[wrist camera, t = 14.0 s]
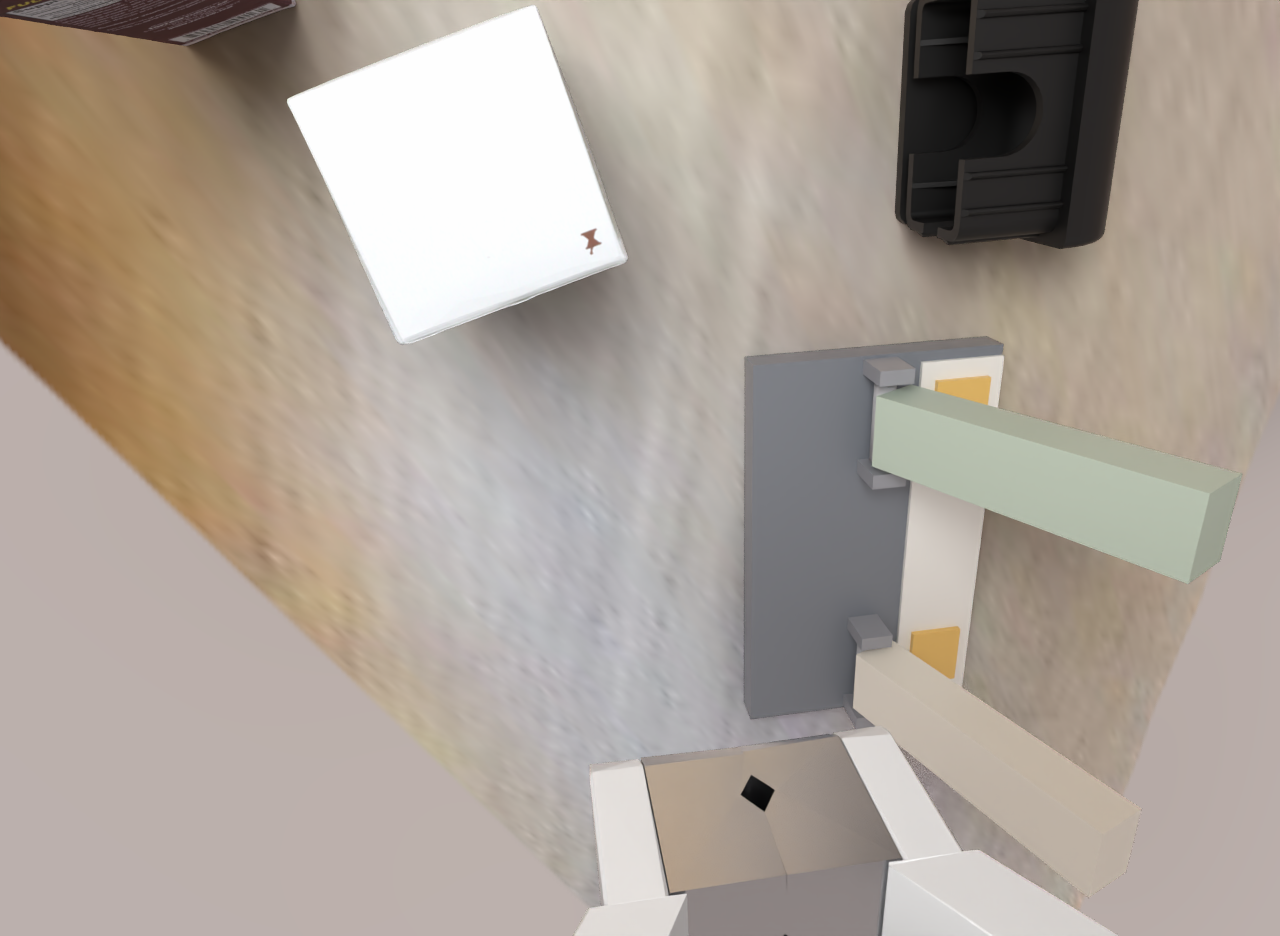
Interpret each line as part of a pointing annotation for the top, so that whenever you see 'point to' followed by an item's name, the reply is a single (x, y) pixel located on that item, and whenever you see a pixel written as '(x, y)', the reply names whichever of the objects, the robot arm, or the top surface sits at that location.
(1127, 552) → the bar
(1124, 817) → the bar
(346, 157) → the supplement box
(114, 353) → the top surface
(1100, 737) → the top surface
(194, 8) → the supplement box
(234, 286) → the top surface
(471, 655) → the top surface
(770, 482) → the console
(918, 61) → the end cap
